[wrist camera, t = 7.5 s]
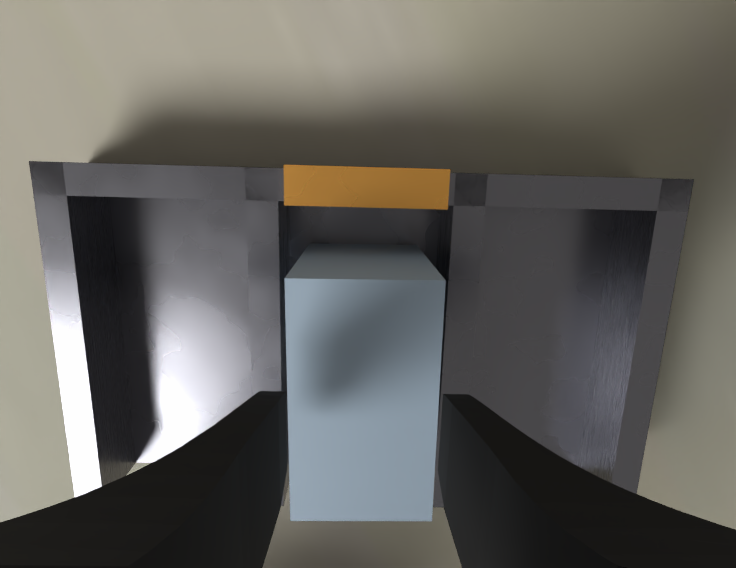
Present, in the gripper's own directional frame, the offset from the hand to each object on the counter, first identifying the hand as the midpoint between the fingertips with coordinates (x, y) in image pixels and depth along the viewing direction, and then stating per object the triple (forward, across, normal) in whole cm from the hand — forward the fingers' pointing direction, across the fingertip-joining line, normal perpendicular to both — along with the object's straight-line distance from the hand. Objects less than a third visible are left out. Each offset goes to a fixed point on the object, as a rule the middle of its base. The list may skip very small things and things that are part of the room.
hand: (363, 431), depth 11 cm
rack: (+8, 0, 0) cm, 8 cm away
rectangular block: (+7, 0, 0) cm, 7 cm away
